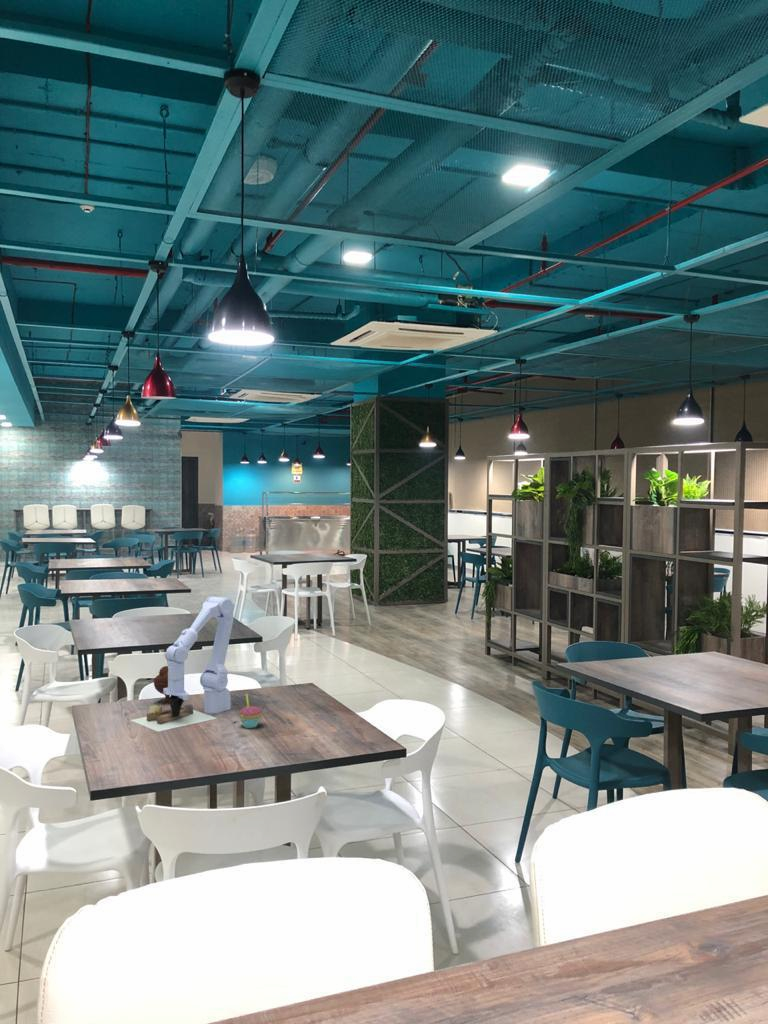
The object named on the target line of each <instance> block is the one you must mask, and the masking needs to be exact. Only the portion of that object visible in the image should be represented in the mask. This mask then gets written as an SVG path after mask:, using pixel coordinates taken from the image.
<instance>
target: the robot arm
mask: <svg viewBox="0 0 768 1024" xmlns="http://www.w3.org/2000/svg"><path fill="white" fill-rule="evenodd" d="M234 608H235V604H234V602H233V601H232V599H230V598H229V597H222V596H214V595H210V596H208V597H206V599H205V601H204V602H203V603H202V608H201V610H200V611H199V613H198V615H197V616H196V618H195V619H194V621H193V622H192V624H191V626H190V627H189V628H185V629H183V630H182V631H181V634H180V636H178V638H177V639H176V641H174V643H173V644H172V645H170V646H168V648H166V651H165V653H164V658H165V660H166V662H167V666H168V688H163V693H164V694H163V695H165V694H166V695H170V697H168V698H167V700H168V702H169V703H168V704H169V706H170V709H171V710H172V715H173V717H178V716H179V715H180V709H181V707H182V705H183V703H184V701H187V700H190V694H189V693H187V691H186V690H185V662H186V660H187V659H188V658H189V652H190V649H191V648H192V647H193V646H194V644H195V642H196V641H198V639H199V636H198V633H200V632H201V630H202V629H203V628H204V626H205V625H206V624H207V623H208V622H209V621H210V619H212V618H215V619H216V621H217V626H216V630H215V631H216V632H215V636H214V641H213V646H212V650H211V655H210V659H209V663H207V664H206V665H205V666H204V668H203V671H202V673H201V674H200V677H199V682H200V683H199V684H200V685H201V687H202V689H203V697H204V698H203V701H204V702H203V707H204V708H203V712H204V713H205V714H219V713H223V712H226V711H230V710H231V709H232V708H231V707H232V706H231V693H230V690H229V689H228V688H227V686H228V682H229V681H228V679H229V678H228V673H229V672H228V669H227V668H226V666H225V664H226V663H225V662H226V658H227V655H228V653H227V652H228V648H229V643H230V637H231V632H232V628H233V624H234Z"/></svg>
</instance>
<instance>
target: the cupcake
mask: <svg viewBox="0 0 768 1024" xmlns="http://www.w3.org/2000/svg"><path fill="white" fill-rule="evenodd" d="M245 693H246V694H245V699H246V706H244V707H242V708H241V709H240V710H239V711H238V713H237V714H238V718H240V720H241V722H242V724H243V725H242V726H243V727H244V728H245V729H253V728H257V727H258V724H259V720H260V719H261V718H262V717H263V715H264V712H263V710H262V709H261V707H258V706H254V705H250V703H249V695H248V693H247V692H245Z"/></svg>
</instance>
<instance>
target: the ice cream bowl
mask: <svg viewBox="0 0 768 1024" xmlns="http://www.w3.org/2000/svg"><path fill="white" fill-rule="evenodd" d="M153 686H154V689H155V690H156V691H157V692H158V693H160V694H161V695H164V697H165V700H163V701H162V703H163V704H169V702H168V700H167V698H168V697H170V696H171V695H166V694H164V693H163V688H168V665H165V666H163V667H161V668H160V669H159V671H158V675H157V676H155V677H154V680H153Z"/></svg>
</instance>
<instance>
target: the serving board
mask: <svg viewBox="0 0 768 1024" xmlns="http://www.w3.org/2000/svg"><path fill="white" fill-rule="evenodd" d="M215 719H218V718H217V717H215V716H212V715H209V714H207V713H205V712H204V713H203V712H201V711H199V710H195V709H193V714H191V715H188V716H185V717H182V718H179V719H175V720H172V721H169V722H166V723H163V724H158V723H157V720H155V721H150V722H149V721H147V716H144V717H138V718H135V719H134V718H133V719H130V721H131V722H133V723H136V724H138V725H141V726H143V727H145V728H147V729H150V730H152V731H155V732H163V731H167V730H171V729H175V728H181V727H186V726H190V725H194V724H199V723H204V722H207V721H212V720H215Z"/></svg>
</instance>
